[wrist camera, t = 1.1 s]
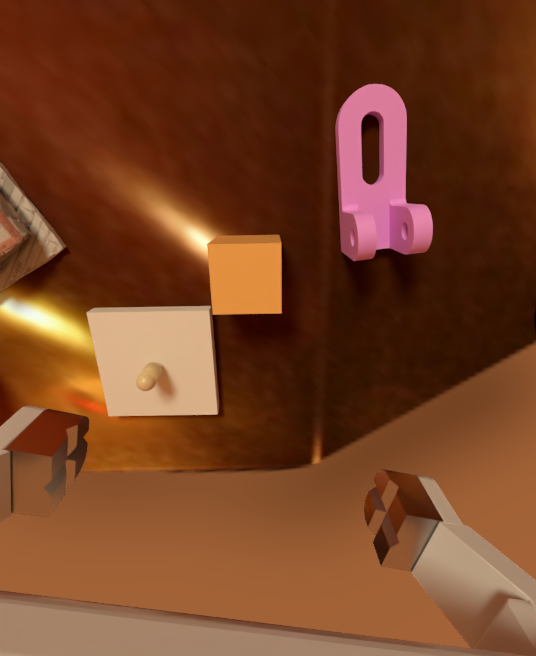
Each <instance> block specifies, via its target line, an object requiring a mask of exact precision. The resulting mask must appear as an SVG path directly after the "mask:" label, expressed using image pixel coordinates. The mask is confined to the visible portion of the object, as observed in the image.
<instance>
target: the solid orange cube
mask: <svg viewBox="0 0 536 656" xmlns="http://www.w3.org/2000/svg"><path fill="white" fill-rule="evenodd" d="M207 246H208V259H209V272H210V285H211V297H212V310H213V315H215V314H276V313H282V252H281V240H280V236H279V235H241V236H217V237H216V238H215V239H213V240H212V241H211V242H210V243H208V244H207Z"/></svg>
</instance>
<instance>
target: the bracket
mask: <svg viewBox="0 0 536 656" xmlns="http://www.w3.org/2000/svg"><path fill="white" fill-rule="evenodd" d="M365 115H374V116H375V117H376V118H377V119H378V121H379V158H380V175H379V178H378V180H377V181H376V182H375V183H374V184H373V185H368V184H367V183H365V182H364V180H363V177H362V145H361V122H362V119H363V117H364V116H365ZM406 133H407V115H406V109H405V105H404V103H403V101H402V99H401V97H400V96H399V95H398V93H397V92H396V91H394V90H393V89H392V88H390V87H388V86H385V85H382V84H370V85H367V86H364V87H362V88H360V89H358V90H357V91H355V92H354V93H353V94H352V95H351V96H350V97H349V98H348V99H347V101H346V102H345V103H344V104H343V106H342V108H341V109H340V111H339V114H338V117H337V121H336V152H337V172H338V193H339V214H340V234H341V252H343V253H344V254H345V255H347V256H348V257H349V258H351V259H352V260H353V261H359V260H367V259H373V257H374V255H375V252H376V250H377V249H385V248H391V249H393V250H395V251H398V252H400V253H402V254H405V255H407V254H415V253H423V252H426V251H427V250H428V248H429V246H430V244H431V240H432V234H433V224H432V217H431V213H430V211H429V209H428V207H427V206H426V205H423V204H407V203H406V198H405V195H406Z"/></svg>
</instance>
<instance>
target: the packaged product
mask: <svg viewBox="0 0 536 656" xmlns="http://www.w3.org/2000/svg"><path fill="white" fill-rule="evenodd" d="M65 247H66V245H65V244H64V243H63V241H62V240H61V239H60V237H59V236H58V234H57V233H56V232H55V230H54V229H53V228H52V226H51V225H50V224H49V223H48V222H47V220H46V219H45V218H44V217H43V215H42V214H41V213H40V212H39V211H38V209H37V208H36V207H35V206H34V204H33V203H32V202H31V201H30V200H29V198H28V197H27V196H26V194H25V193H24V192H23V190H22V189H21V188H20V186H19V185H18V184H17V182H16V181H15V180H14V178H13V177H12V176H11V174H10V173H9V172H8V170H7V169H6V168H5V167H4V165H3V164H2V163H1V162H0V293H1V292H2V291H4V290H5V289H7V288H8V287H9V286H11V285H12V284H13V283H15V282H16V281H17V280H19V279H20V278H22V277H24V276H26V275H27V274H29V273H31V272H32V271H34V270H35V269H37V268H39V267H40V266H42V265H43V264H45V263H47V262H48V261H50V260H51V259H52V258H54V257H55V256H56V255H57V254H58V253H59V252H61V251H62V250H63V249H64V248H65Z"/></svg>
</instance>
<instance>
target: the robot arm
mask: <svg viewBox="0 0 536 656" xmlns="http://www.w3.org/2000/svg"><path fill="white" fill-rule="evenodd" d="M88 430H89V419H88V418H87V417H86V416H81V415H76V414H71V413H66V412H61V411H56V410H51V409H45V408H40V407H35V406H30V405H28V406H24V407H22V408H21V409H20V410H18V411H17V412H16V413H15V414H14V415H13V416H12V417H11V418H9V419H8V420H7V421H6V422H5V423H4V424H3V425H1V426H0V522H2V521H4V520H5V519H7V518H8V517H10V516H11V513H14V514H22V515H31V516H40V517H49V518H50V517H51V516H52V514H53V513H54V511H55V509H56V508H57V507H58V505H59V503H60V502H61V501H62V499H63V497H64V496H65V490H66V485H67V484H69V483H71V482H73V481H74V480H75V479H76V477H77V476H78V474H79V473H80V471H81V468H82V466H83V463H84V461H85V457H86V453H87V445H88V444H87V442H86V441H85V439H84V438H83V437H84V436H85V434H86V433H87V431H88ZM374 481H375V484H376V487H375V488H373V489H372V490H370V491H369V492H368V495H367V497H366V500H365V508H364V512H365V520H366V523H367V526H368V528H369V529H370V530H371V531H372V532H373V533H374V534H375V535H376V536H375V538H374V541H373V544H374V547H375V550H376V553H377V556H378V559H379V562H380V565H381V566H383V567H388V568H394V569H400V570H405V571H411V572H412V573H411V574H412V575H413V576H414V577H415V579H416V580H417V581H418V582H419V584H420V585H421V586H422V587H423V589H424V590H425V591H426V592H427V594H428V595H429V596H430V597H431V599H432V600H433V601H434V602H435V604H436V605H437V606H438V607H439V609H440V610H441V611H442V612H443V614H444V615H445V616H446V617H447V619H448V620H449V621H450V622H451V624H452V625H453V626H454V627H455V629H456V630H457V631H458V632H459V634H460V635H461V636H462V637H463V639H464V640H465V641H466V642H467V643H468V645H469V646H470V647H471V648H462V647H455V646H446V645H438V644H431V643H422V642H414V641H406V640H398V639H389V638H382V637H373V636H365V635H357V634H348V633H341V632H332V631H324V630H316V629H307V628H299V627H291V626H283V625H275V624H267V623H259V622H251V621H243V620H235V619H227V618H219V617H211V616H203V615H195V614H186V613H178V612H170V611H162V610H154V609H146V608H138V607H129V606H122V605H113V604H104V603H97V602H89V601H80V600H73V599H64V598H57V597H48V596H41V595H32V594H24V593H16V592H8V591H0V656H536V580H535V579H533V578H532V577H531V576H530V575H528V574H527V573H526V572H525V571H523V570H522V569H521V568H520V567H518V566H517V565H516V564H515V563H514V562H512V561H511V560H510V559H509V558H507V557H506V556H505V555H504V554H502V553H501V552H500V551H498V550H497V549H496V548H495V547H494V546H492V545H491V544H490V543H489V542H487V541H486V540H485V539H484V538H482V537H481V536H480V535H479V534H478V533H476V532H475V531H474V530H473V529H471V528H470V527H469V526H464V525H463V524H462V523H461V521H460V520H459V518H458V516H457V514H456V513H455V511H454V510H453V508H452V507H451V505H450V503H449V502H448V500H447V499H446V497H445V495H444V494H443V492H442V491H441V489H440V488H439V486H438V484H437V483H436V481H435V480H434V479H433V478H431V477H428V476H422V475H415V474H414V475H412V474H406V473H400V472H394V471H389V470H382V469H380V470H379V471H378V472H377V474H376V476H375V479H374Z"/></svg>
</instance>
